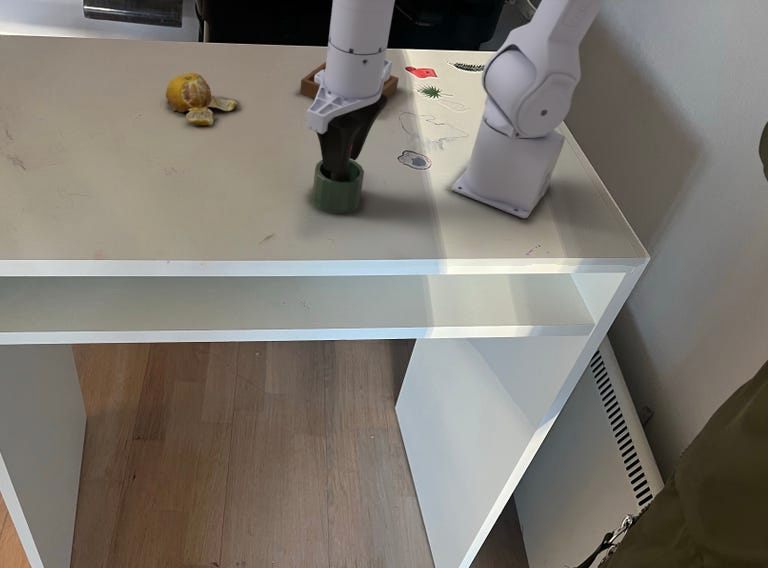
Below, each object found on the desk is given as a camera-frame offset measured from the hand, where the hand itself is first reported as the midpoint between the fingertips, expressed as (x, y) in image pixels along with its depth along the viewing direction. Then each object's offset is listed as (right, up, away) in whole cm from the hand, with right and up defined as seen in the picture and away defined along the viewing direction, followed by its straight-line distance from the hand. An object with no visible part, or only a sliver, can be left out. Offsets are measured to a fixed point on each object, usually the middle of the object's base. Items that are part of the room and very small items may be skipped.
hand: (340, 163), depth 83 cm
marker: (0, -3, +3) cm, 4 cm away
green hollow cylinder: (0, -3, +4) cm, 5 cm away
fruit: (-17, +11, +15) cm, 25 cm away
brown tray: (+3, +15, +21) cm, 26 cm away
